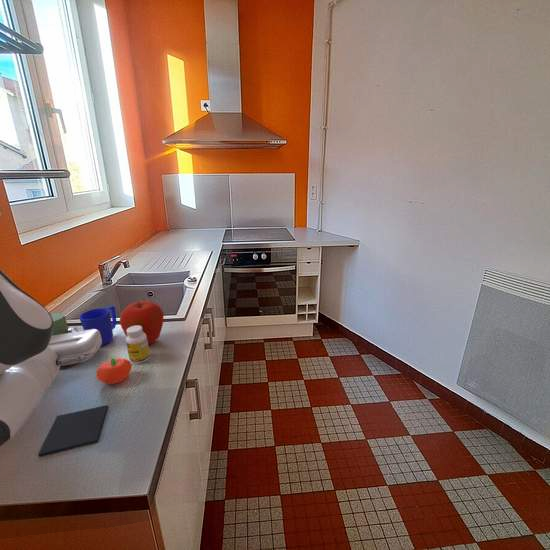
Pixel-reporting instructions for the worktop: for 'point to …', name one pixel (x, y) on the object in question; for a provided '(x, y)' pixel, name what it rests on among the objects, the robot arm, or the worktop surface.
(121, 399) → the worktop surface
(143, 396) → the worktop surface
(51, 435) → the mat
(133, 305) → the apple
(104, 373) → the pumpkin
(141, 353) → the supplement bottle
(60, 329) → the stacking piece
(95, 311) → the mug
